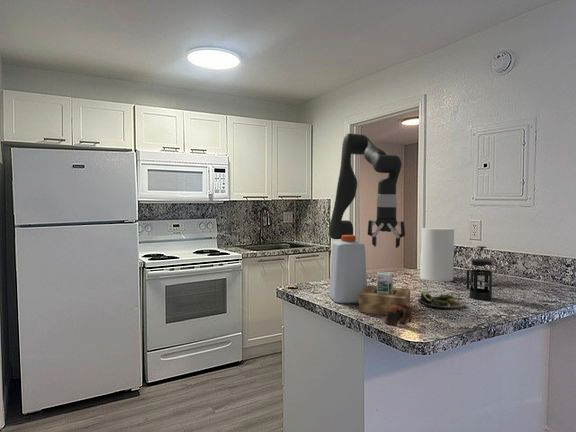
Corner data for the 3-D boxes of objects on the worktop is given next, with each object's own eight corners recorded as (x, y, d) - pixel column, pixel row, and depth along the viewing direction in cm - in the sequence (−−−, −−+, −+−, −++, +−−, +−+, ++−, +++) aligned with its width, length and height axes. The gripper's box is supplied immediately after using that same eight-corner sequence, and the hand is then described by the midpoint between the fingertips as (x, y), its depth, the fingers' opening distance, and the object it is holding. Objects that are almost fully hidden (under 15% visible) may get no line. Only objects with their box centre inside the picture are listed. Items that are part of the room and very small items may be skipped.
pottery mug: (377, 321, 145) (384, 300, 147) (400, 332, 146) (406, 310, 149) (394, 322, 134) (401, 299, 136) (418, 334, 135) (425, 311, 137)
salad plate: (450, 298, 179) (450, 288, 179) (477, 308, 162) (477, 297, 162) (411, 300, 175) (411, 290, 175) (434, 311, 158) (434, 300, 158)
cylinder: (458, 281, 215) (459, 229, 214) (426, 281, 215) (427, 229, 214) (446, 275, 232) (447, 227, 231) (416, 275, 232) (417, 227, 231)
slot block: (358, 311, 155) (358, 294, 155) (368, 301, 171) (368, 285, 171) (404, 317, 149) (404, 298, 148) (409, 306, 164) (410, 289, 164)
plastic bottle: (370, 303, 169) (371, 236, 168) (336, 304, 166) (336, 237, 165) (358, 294, 184) (359, 233, 183) (326, 296, 181) (327, 234, 180)
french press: (498, 299, 177) (499, 247, 176) (486, 301, 172) (487, 248, 171) (473, 293, 187) (474, 244, 186) (461, 296, 181) (462, 245, 180)
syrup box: (376, 309, 158) (376, 273, 158) (378, 306, 164) (379, 271, 163) (390, 311, 156) (391, 274, 156) (393, 307, 162) (393, 272, 161)
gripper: (366, 205, 157) (365, 247, 158) (404, 206, 152) (403, 249, 153) (370, 205, 164) (369, 245, 165) (406, 206, 159) (405, 246, 160)
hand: (385, 246), depth 159 cm, fingers open, 8 cm apart
